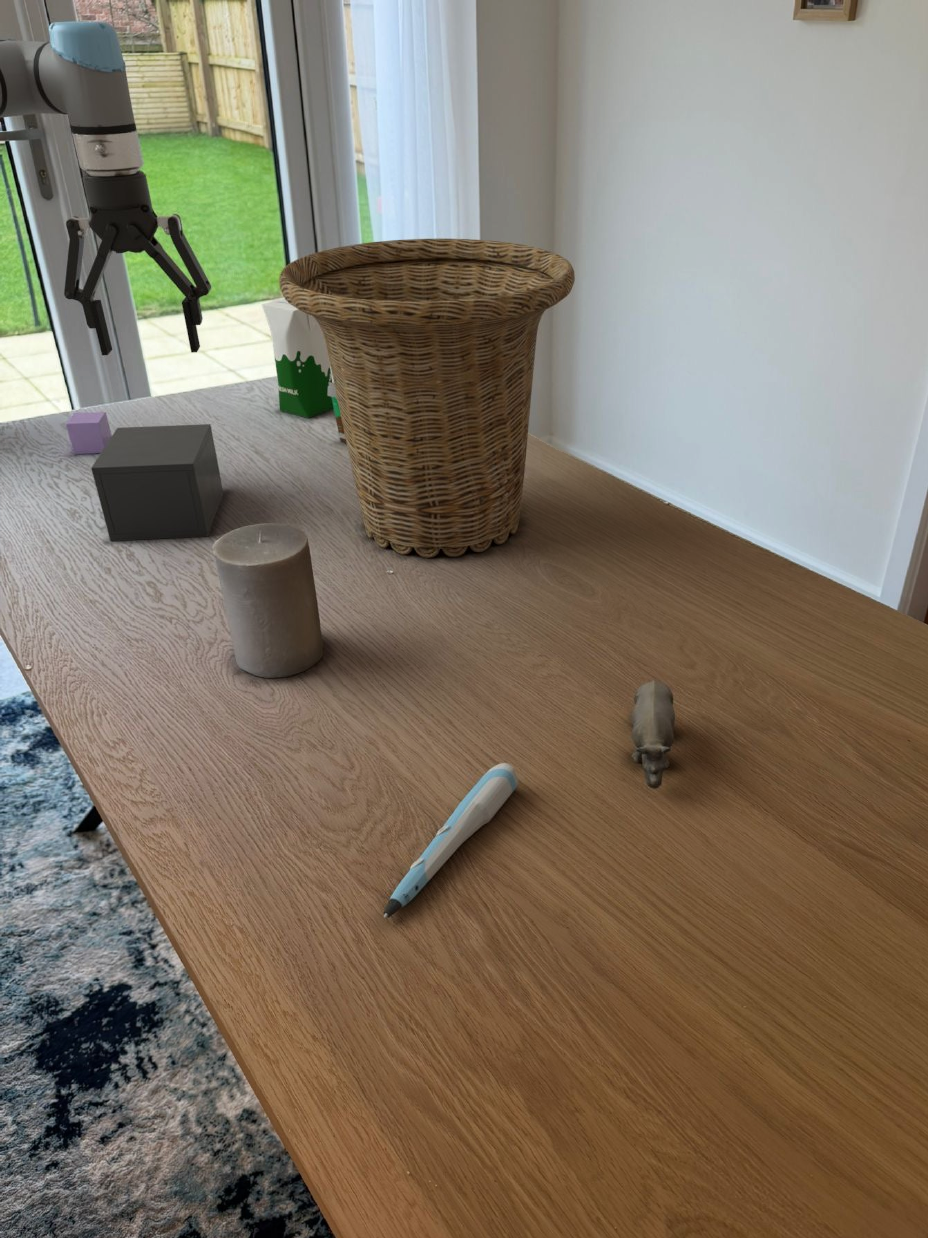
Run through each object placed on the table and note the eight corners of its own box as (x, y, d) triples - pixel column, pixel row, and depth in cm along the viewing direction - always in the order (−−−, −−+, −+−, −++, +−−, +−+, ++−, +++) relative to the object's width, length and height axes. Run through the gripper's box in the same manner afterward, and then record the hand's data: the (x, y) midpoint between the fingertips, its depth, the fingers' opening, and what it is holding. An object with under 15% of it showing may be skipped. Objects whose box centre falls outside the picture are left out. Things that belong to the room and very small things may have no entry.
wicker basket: (485, 457, 160) (478, 227, 141) (621, 539, 136) (635, 275, 117) (274, 509, 145) (234, 258, 126) (385, 611, 121) (357, 320, 102)
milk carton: (344, 406, 180) (331, 287, 169) (307, 421, 174) (291, 298, 163) (308, 397, 185) (293, 280, 173) (271, 411, 178) (253, 290, 167)
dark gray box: (133, 496, 149) (117, 427, 143) (223, 492, 150) (210, 423, 144) (110, 541, 137) (90, 467, 131) (207, 536, 138) (192, 463, 132)
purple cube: (73, 454, 162) (65, 423, 159) (81, 443, 166) (73, 412, 164) (106, 453, 163) (98, 422, 160) (113, 441, 167) (105, 411, 164)
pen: (491, 780, 95) (490, 756, 93) (521, 790, 94) (521, 766, 92) (370, 918, 81) (366, 892, 79) (404, 932, 80) (401, 906, 78)
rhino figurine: (626, 806, 92) (630, 753, 88) (630, 717, 103) (633, 667, 100) (672, 809, 91) (678, 756, 88) (671, 719, 103) (676, 669, 99)
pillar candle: (323, 629, 118) (307, 507, 109) (324, 674, 110) (306, 548, 101) (237, 636, 116) (213, 514, 108) (231, 683, 108) (205, 555, 100)
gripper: (5, 177, 123) (55, 362, 135) (204, 173, 125) (235, 356, 137) (24, 168, 129) (70, 345, 141) (214, 164, 131) (242, 340, 143)
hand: (151, 351), depth 139 cm, fingers open, 11 cm apart
